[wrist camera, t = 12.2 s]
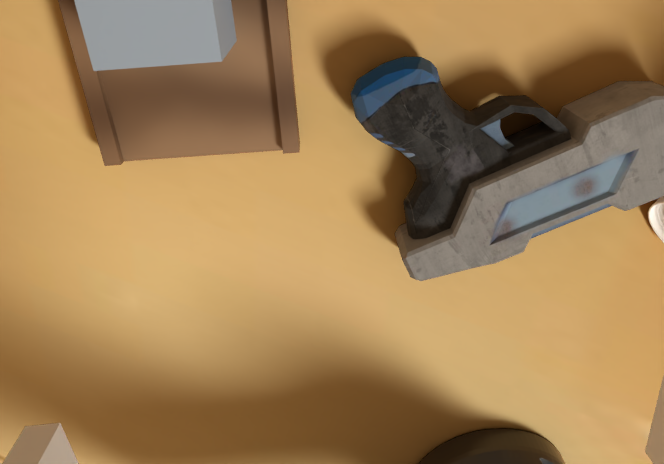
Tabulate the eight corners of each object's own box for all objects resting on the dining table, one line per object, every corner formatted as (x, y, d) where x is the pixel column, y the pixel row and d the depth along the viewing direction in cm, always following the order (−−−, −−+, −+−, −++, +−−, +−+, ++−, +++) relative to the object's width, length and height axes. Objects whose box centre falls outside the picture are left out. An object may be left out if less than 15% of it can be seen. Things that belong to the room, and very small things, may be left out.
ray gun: (325, 102, 29) (421, 299, 36) (672, -67, 26) (706, 185, 33) (323, 84, 33) (410, 265, 40) (626, -66, 30) (665, 160, 37)
